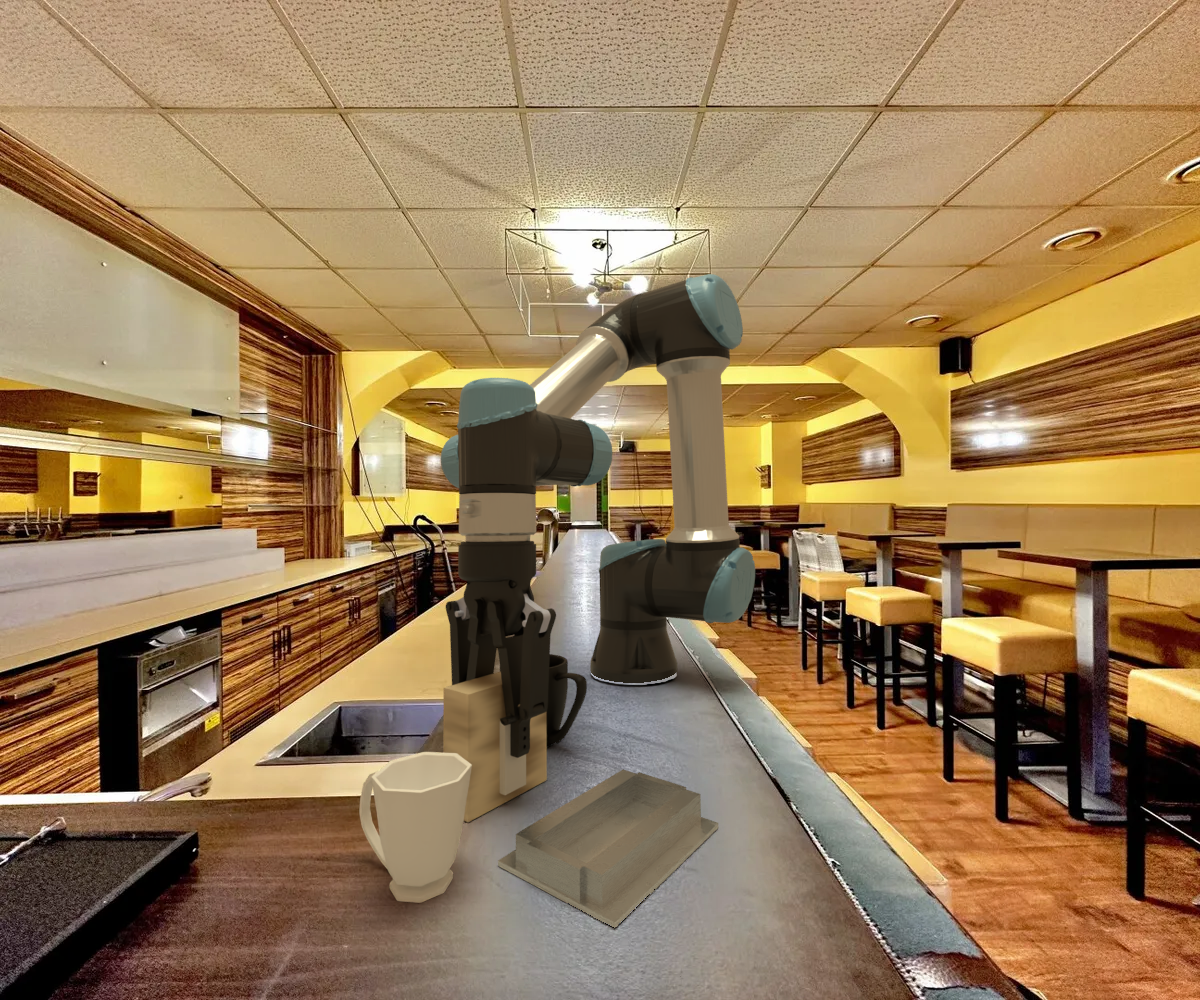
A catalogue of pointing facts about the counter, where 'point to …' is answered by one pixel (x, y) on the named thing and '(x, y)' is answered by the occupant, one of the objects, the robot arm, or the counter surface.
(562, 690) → the mug
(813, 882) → the counter surface
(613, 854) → the beige piece
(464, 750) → the wooden block
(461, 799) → the cup
